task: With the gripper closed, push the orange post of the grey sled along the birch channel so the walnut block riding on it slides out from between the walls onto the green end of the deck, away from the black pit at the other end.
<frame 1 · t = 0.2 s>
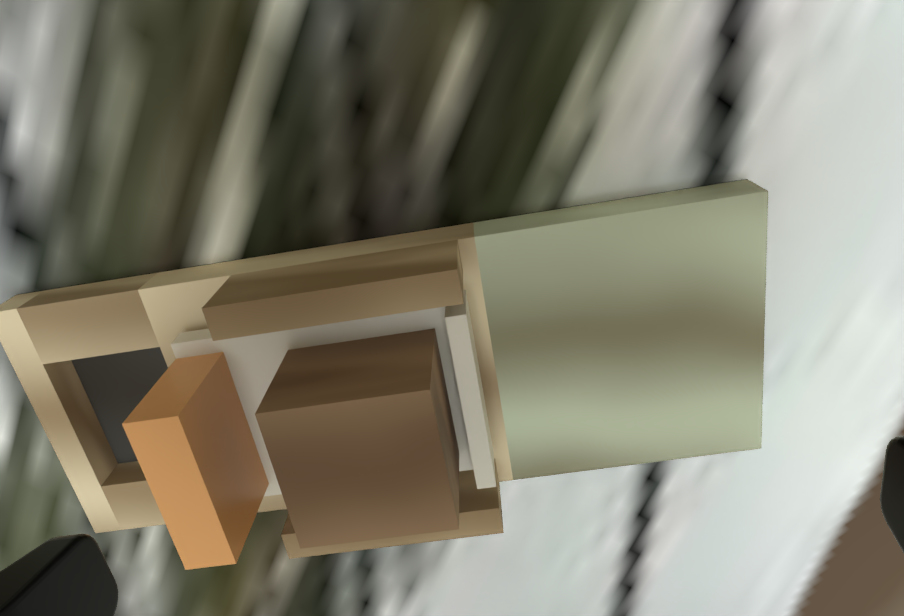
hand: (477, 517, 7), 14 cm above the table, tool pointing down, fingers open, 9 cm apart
deck: (393, 361, 23), on the table
sled: (331, 432, 19), point 4 cm above the table, slide at 0.0 cm, touching block
block: (376, 402, 21), point 3 cm above the table, touching sled
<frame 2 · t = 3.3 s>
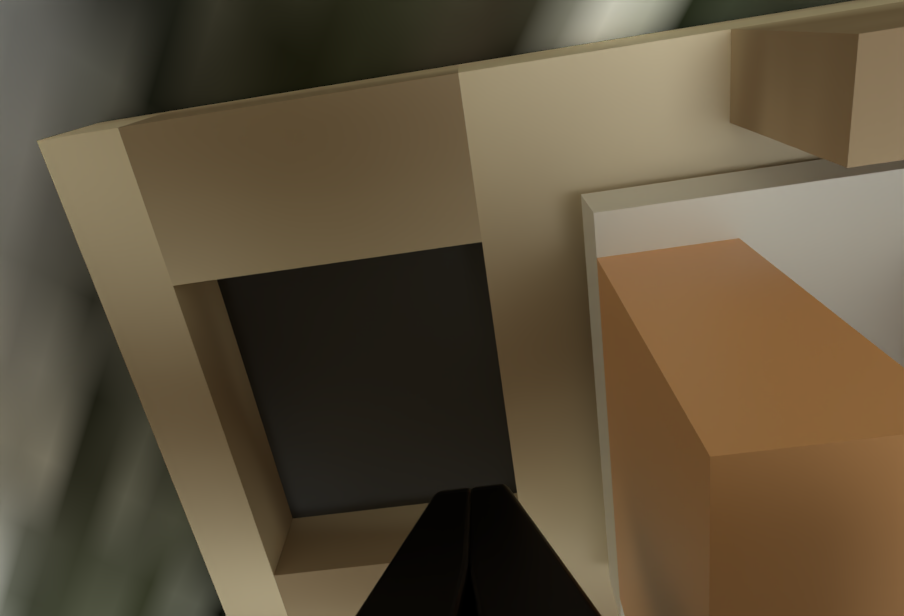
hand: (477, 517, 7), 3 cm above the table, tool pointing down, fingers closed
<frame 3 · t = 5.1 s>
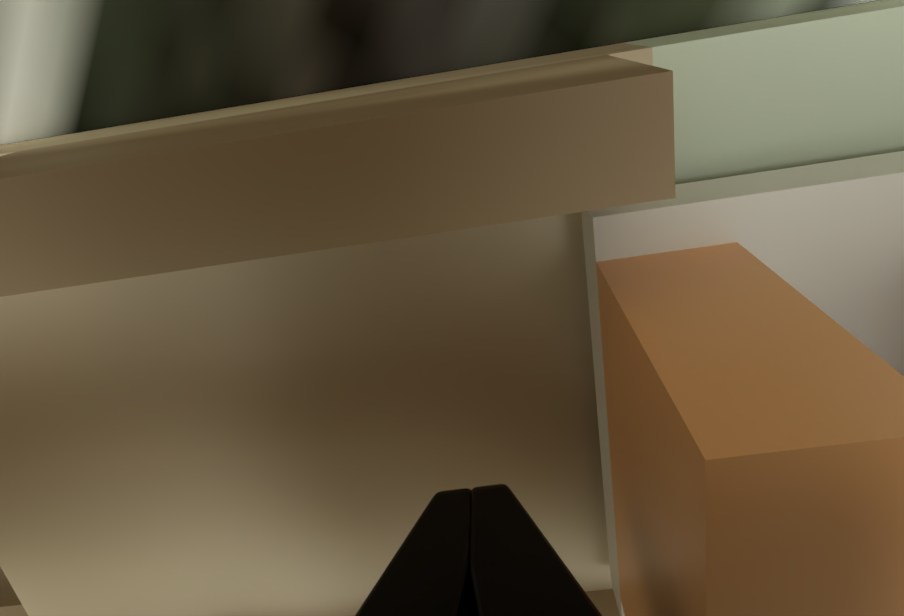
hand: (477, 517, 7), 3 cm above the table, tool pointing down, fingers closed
deck: (419, 373, 11), on the table
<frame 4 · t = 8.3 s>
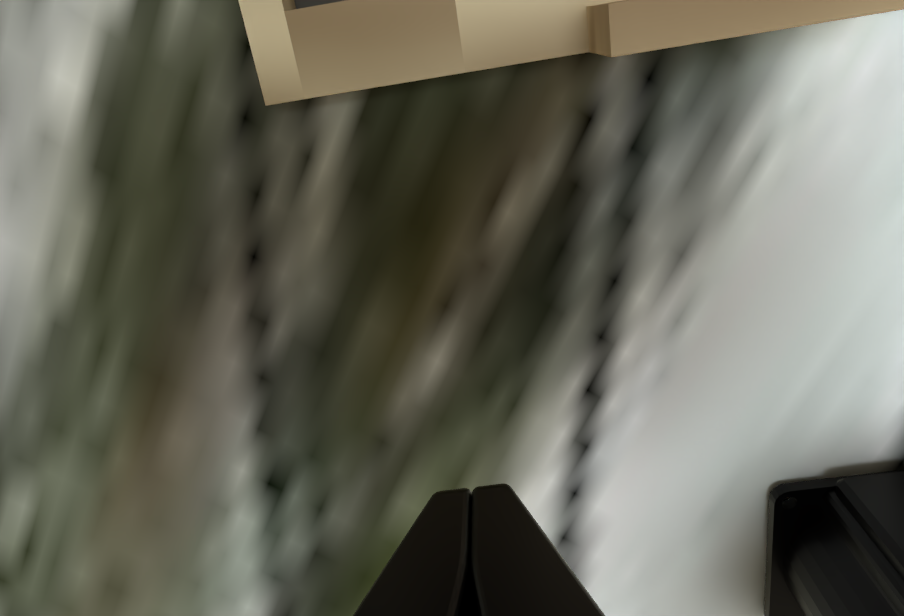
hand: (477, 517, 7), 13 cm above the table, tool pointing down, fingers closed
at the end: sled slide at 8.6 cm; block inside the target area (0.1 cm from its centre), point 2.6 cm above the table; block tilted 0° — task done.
